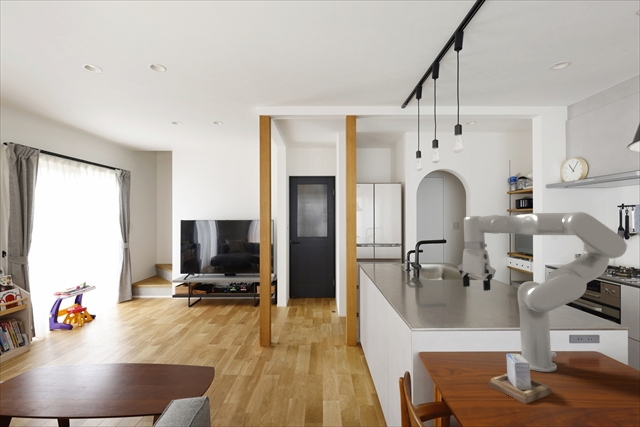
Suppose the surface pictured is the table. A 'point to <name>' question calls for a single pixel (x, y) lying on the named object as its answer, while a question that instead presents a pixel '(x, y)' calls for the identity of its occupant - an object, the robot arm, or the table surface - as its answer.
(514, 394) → the square wooden tray
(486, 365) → the table surface
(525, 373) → the medicine box
